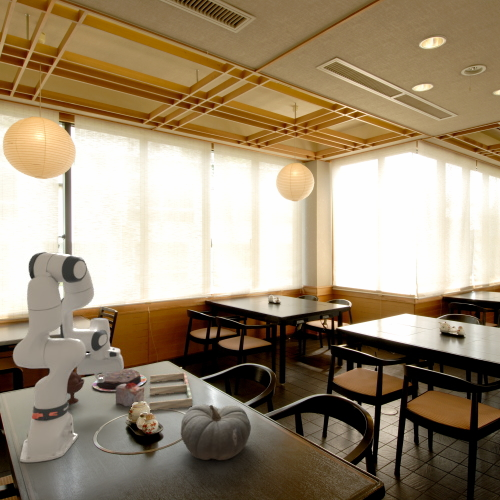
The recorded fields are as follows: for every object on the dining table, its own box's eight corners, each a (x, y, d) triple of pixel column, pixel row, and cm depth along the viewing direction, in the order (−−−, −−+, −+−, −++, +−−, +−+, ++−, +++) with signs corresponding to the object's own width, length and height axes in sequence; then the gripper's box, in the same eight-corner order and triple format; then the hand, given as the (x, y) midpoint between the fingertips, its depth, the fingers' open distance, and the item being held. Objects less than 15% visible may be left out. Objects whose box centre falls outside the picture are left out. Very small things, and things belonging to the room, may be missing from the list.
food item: (147, 403, 184) (146, 382, 184) (135, 409, 177) (135, 388, 177) (125, 398, 190) (124, 378, 190) (112, 405, 183) (112, 383, 182)
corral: (192, 406, 180) (192, 398, 180) (149, 411, 175) (149, 403, 175) (185, 378, 218) (185, 372, 218) (150, 381, 214) (150, 375, 214)
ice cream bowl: (78, 406, 181) (78, 374, 181) (55, 406, 182) (54, 374, 181) (88, 397, 192) (88, 367, 192) (66, 397, 192) (65, 367, 192)
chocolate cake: (157, 380, 216) (157, 369, 216) (116, 397, 193) (116, 384, 193) (123, 372, 231) (123, 361, 231) (81, 387, 207) (80, 374, 207)
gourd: (172, 432, 148) (180, 388, 148) (233, 432, 157) (241, 390, 156) (184, 475, 125) (193, 423, 124) (255, 472, 134) (264, 423, 133)
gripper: (74, 356, 174) (75, 386, 175) (122, 352, 179) (123, 382, 180) (77, 352, 180) (78, 381, 181) (123, 348, 185) (124, 377, 186)
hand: (100, 382), depth 180 cm, fingers closed
